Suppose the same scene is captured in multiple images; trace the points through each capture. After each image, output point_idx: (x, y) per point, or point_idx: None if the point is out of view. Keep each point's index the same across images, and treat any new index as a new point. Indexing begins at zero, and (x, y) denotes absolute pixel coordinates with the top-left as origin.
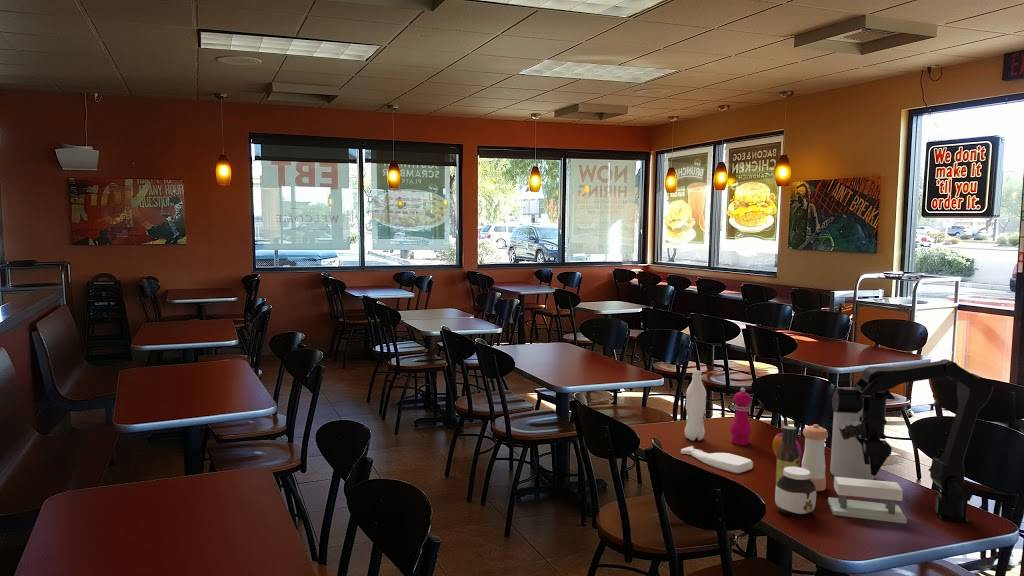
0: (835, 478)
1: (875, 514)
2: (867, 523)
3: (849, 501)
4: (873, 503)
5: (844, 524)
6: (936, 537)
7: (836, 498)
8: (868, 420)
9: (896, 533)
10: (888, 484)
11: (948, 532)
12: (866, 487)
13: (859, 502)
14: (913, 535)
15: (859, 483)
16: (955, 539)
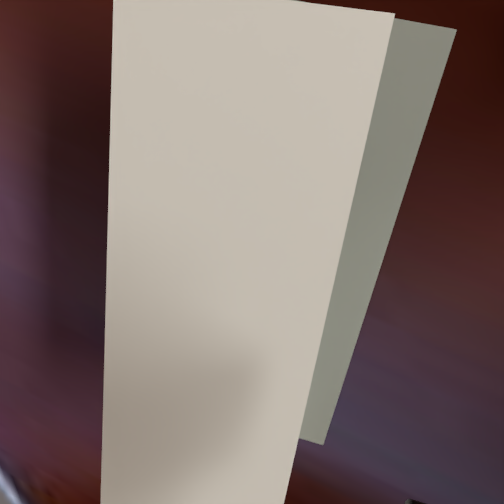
0: (317, 5)
1: None
2: (93, 173)
3: (365, 178)
4: (340, 325)
5: (41, 17)
6: (18, 414)
7: (427, 96)
8: None
9: (6, 269)
10: (205, 478)
11: (83, 484)
12: (110, 269)
13: (350, 242)
14: (8, 334)
15: (182, 242)
16: (21, 469)
